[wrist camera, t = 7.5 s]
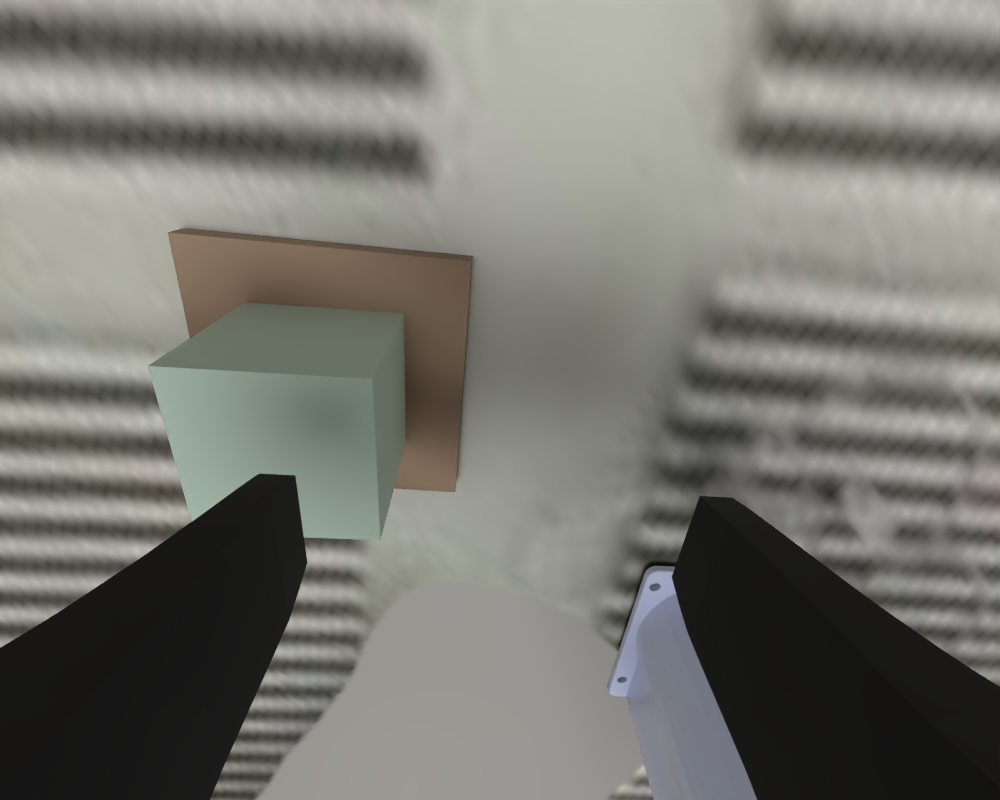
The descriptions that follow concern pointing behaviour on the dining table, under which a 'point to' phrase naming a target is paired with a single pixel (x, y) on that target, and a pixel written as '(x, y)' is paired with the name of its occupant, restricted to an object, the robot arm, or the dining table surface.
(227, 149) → the dining table surface
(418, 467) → the walnut board
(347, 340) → the green cube
